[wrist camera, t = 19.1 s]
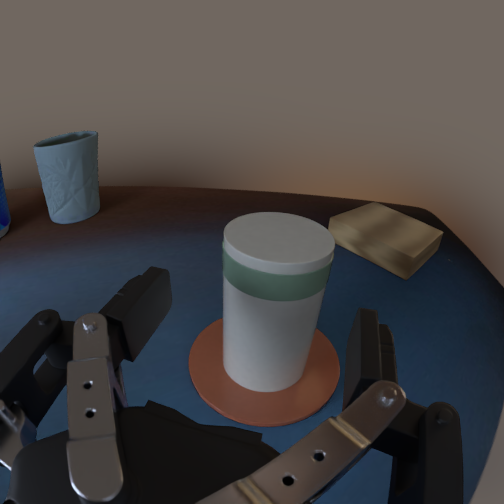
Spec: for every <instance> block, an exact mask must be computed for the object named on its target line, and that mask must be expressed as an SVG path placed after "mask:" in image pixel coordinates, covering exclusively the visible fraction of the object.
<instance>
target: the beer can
mask: <svg viewBox="0 0 504 504" xmlns="http://www.w3.org/2000/svg"><path fill="white" fill-rule="evenodd" d="M10 222H11V217H10V213H9V208H8V204H7V199H6V194H5V189H4V183H3V178H2V171H1V164H0V238H1V237H3V236H4V235H5V234H6V233H7V232H8V230H9V224H10Z"/></svg>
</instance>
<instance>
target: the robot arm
mask: <svg viewBox="0 0 504 504" xmlns="http://www.w3.org/2000/svg"><path fill="white" fill-rule="evenodd" d="M171 304H172V294H171V285H170V275H169V271H168V270H166V269H161V268H157V267H150V268H149V269H148V270H147V271H146V272H145V273H144V274H143V275H142V276H141V275H138V276H136V277H134V278H132V279H131V280H129V281H128V282H127V283H126V284H125V285H124V286H123V287H122V289H120V290H119V291H118V292H117V294H115V295H114V297H113V298H112V299H111V300H110V301H109V302H108V303H107V304H106V305H105V306H104V307H103V308H102V309H101V310H100V311H99V313H88V314H85V315H83V316H81V317H80V318H78V319H77V320H76V322H73V321H61V319H60V316H59V314H58V312H57V311H55V310H51V309H47V310H43V311H40V312H39V313H37V314H36V315H35V316H34V317H33V318H32V319H31V320H30V321H29V322H28V323H27V324H26V325H25V326H24V327H23V328H22V330H21V331H20V332H19V333H18V334H17V335H16V336H15V337H14V338H13V339H12V341H11V342H10V343H9V344H8V345H7V346H6V347H5V348H4V350H3V351H2V352H1V353H0V466H2V467H7V468H8V469H9V470H11V480H10V486H9V491H8V494H7V497H6V500H5V501H4V503H3V504H312V503H313V502H315V501H316V500H317V499H318V498H320V497H321V496H322V495H323V494H324V493H325V492H327V491H328V490H329V489H330V488H331V487H332V486H333V485H334V484H335V483H336V482H337V481H338V480H340V479H341V478H342V477H343V476H344V475H345V474H346V473H347V472H348V471H349V470H350V469H351V468H352V467H353V466H354V465H355V464H356V463H357V462H358V461H359V460H360V459H361V458H362V457H363V456H364V455H365V454H366V453H367V452H368V451H369V450H370V449H371V448H374V449H376V450H379V451H381V452H384V453H386V454H389V455H391V456H393V462H392V472H391V482H390V490H389V498H388V504H463V454H462V439H461V427H460V418H459V414H458V412H457V411H456V409H455V408H454V407H453V406H451V405H450V404H448V403H445V402H435V403H433V404H431V405H430V406H429V407H428V408H426V407H424V406H421V405H419V404H416V403H414V402H411V401H410V400H408V399H407V398H406V395H405V393H404V391H403V389H402V388H401V387H400V386H399V385H398V378H397V367H396V357H395V348H394V339H393V334H392V332H391V331H390V329H389V327H388V326H387V325H385V324H379V323H378V313H377V310H372V309H365V308H358V311H357V314H356V317H355V320H354V323H353V326H352V329H351V332H350V335H349V338H348V342H347V348H346V366H345V382H344V396H343V408H342V413H340V414H339V415H338V416H337V417H335V418H334V417H333V416H332V417H330V418H328V419H327V420H325V421H324V422H323V423H322V424H320V425H319V426H318V427H317V428H315V429H314V430H313V431H311V432H310V433H309V434H308V435H306V436H305V437H304V438H302V439H301V440H300V441H298V442H297V443H296V444H294V445H293V446H292V447H290V448H289V449H288V450H286V451H285V452H283V453H282V454H280V453H279V452H277V451H276V450H275V449H274V448H272V447H271V446H269V445H267V444H266V443H264V442H261V439H262V433H257V432H253V431H249V430H244V429H240V428H236V427H232V426H213V425H201V424H198V423H196V422H195V421H193V420H191V419H190V418H188V417H186V416H185V415H183V414H181V413H180V412H178V411H177V410H175V409H173V408H170V407H167V406H164V405H161V404H158V403H156V402H153V401H150V400H148V402H147V403H146V405H145V407H138V406H134V407H128V403H127V399H126V393H125V388H124V381H123V375H122V368H121V365H120V363H121V361H122V360H123V359H126V360H128V361H131V362H133V361H134V360H135V359H136V357H137V356H138V354H139V353H140V351H141V350H142V349H143V347H144V346H145V344H146V343H147V341H148V340H149V339H150V337H151V336H152V334H153V333H154V332H155V330H156V329H157V327H158V326H159V325H160V323H161V322H162V320H163V319H164V318H165V316H166V315H167V313H168V312H169V310H170V308H171ZM44 353H45V355H46V357H47V359H46V360H45V361H44V362H43V364H42V365H41V366H40V367H39V369H38V370H37V371H36V373H35V374H34V375H33V368H34V366H35V364H36V363H37V361H38V360H39V359H40V358H41V356H42V355H43V354H44ZM66 383H67V408H68V427H69V429H68V430H66V431H63V432H60V433H58V434H55V435H52V436H50V437H47V438H44V439H41V440H39V441H37V440H36V435H37V430H36V428H37V427H38V425H39V423H40V422H41V420H42V419H43V417H44V416H45V414H46V413H47V411H48V410H49V408H50V407H51V405H52V404H53V402H54V401H55V399H56V398H57V396H58V395H59V393H60V392H61V391H62V389H63V388H64V386H65V385H66Z"/></svg>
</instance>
